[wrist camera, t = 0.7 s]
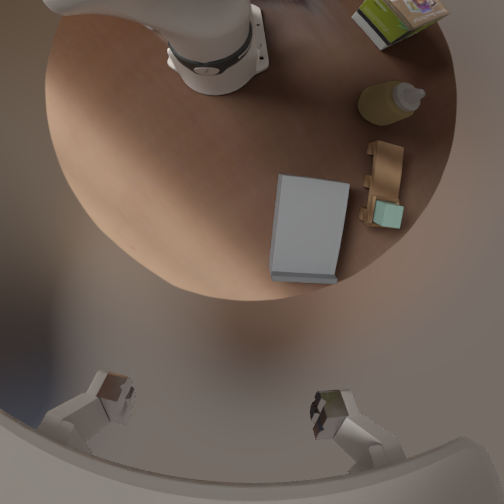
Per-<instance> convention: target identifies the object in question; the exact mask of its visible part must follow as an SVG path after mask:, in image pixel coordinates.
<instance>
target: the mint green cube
mask: <svg viewBox="0 0 504 504" xmlns="http://www.w3.org/2000/svg"><path fill="white" fill-rule="evenodd" d="M403 209H404V207H403V206H400V205H397V204H395V203H391V202H385V201H379V200H376V202H375V208H374V214H373V220H372V221H373V222H375V223H377V224H379V225H381V226H385V227H392V228H399V229H400V225H401V220H402V214H403Z"/></svg>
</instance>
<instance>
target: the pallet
mask: <svg viewBox="0 0 504 504" xmlns="http://www.w3.org/2000/svg"><path fill="white" fill-rule="evenodd" d="M367 154H368V155H372V156H374V157H373V167H372V175H371V176H370V175H365V174H364V182H363V186H364V187H367V188H370V190H369V197H368V204H367V207H360V209H359V216H358V218H359V219H360V220H362V221H364V224H366V225H368V226H373V227H381V228H389V229H395V228H392V227H385V226H381V225H379V224H377V223H375V222H373V221H372V220H373V214H374V208H375V202H376V200H379V201H385V202H391V203H395V204H397V205H399V202H400V200H399V199H398V195H399V188H400V181H401V173H402V164H403V154H404V147H401V146H397V145H394V144H390V143H386V142H383V141H379V140H375V142H369V143H368V146H367Z"/></svg>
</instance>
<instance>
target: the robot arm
mask: <svg viewBox="0 0 504 504" xmlns="http://www.w3.org/2000/svg"><path fill="white" fill-rule="evenodd" d="M43 2H44V3H45V4H46V5H47V7H49V8H50V9H51V10H53V11H54V12H56V13H57V14H60V15H65V16H70V15H80V14H102V15H111V16H116V17H121V18H125V19H128V20H132V21H135V22H138V23H141V24H144V25H146V26H149V27H151V28H154V29H156V30H157V31H159V32H161V34H162V35H163V36H164V37H165V38H166V39H167V40H168V45H169V48H168V50H167V52H168V54H169V58H168V61H167V63H168V65H169V67H170V68H171V69H173V70H175V71H176V72H178V73H179V74H180V75H181V77H182V79H183V80H184V82H185V83H186V84H187V85H188V86H189V87H190V88H192V89H193V90H195V91H197V92H199V93H202V94H207V95H223V94H227V93H231V92H233V91H235V90H237V89H239V88H241V87H242V86H244V85H245V84H246V83H247V82H248V81H249V80H250V79H251V78H252V77H253V76H254V75H255V74H257V73H260V72H262V71H264V70H266V69H267V68H268V67H269V59H268V52H267V46H266V39H265V33H264V27H263V21H262V15H261V10H260V8H259V7H257V6H255V5H253V4H250V0H43ZM260 57H263V58H264V59H263V60H261V59H260ZM131 385H132V379H131V377H128V376H124V375H119V374H116V373H112V372H108V371H104V370H99V371H98V372H97V374H96V376H95V378H94V379H93V381H92V383H91V385H90V387H89V389H88V391H87V392H86V393H82V394H80V395H78V396H77V397H75V398H73V399H71V400H69V401H67V402H65V403H63V404H61V405H60V406H58V407H56V408H54V409H52V410H50V411H48V412H47V414H46V416H45V417H44V419H43V421H42V423H41V424H40V426H39V428H38V430H35V429H33V428H31V427H29V426H27V425H26V424H24V423H22V422H20V421H18V420H17V419H15V418H14V417H12V416H10V415H9V414H7V413H5V412H4V411H3V410H1V409H0V504H504V490H503V487H502V484H501V481H500V478H499V476H498V474H497V471H496V468H495V466H494V464H493V462H492V460H491V458H490V455H489V453H488V452H487V450H486V448H485V447H484V446H483V445H481V444H479V443H478V442H476V441H474V440H472V439H470V438H467V437H465V436H462V437H458V438H456V439H454V440H451V441H449V442H448V443H445V444H443V445H440V446H438V447H436V448H433V449H431V450H428V451H426V452H423V453H420V454H418V455H415V456H412V457H409V458H406V457H405V454H404V452H403V449H402V447H401V445H400V443H399V440H398V438H396V437H394V436H393V435H392V434H390V433H389V432H387V431H386V430H384V429H383V428H382V427H380V426H379V425H377V424H376V423H375V422H373V421H371V420H370V419H369V418H367V417H366V416H365V415H363V414H361V415H360V413H359V410H358V408H357V406H356V403H355V400H354V398H353V395H352V393H351V391H350V390H349V389H342V390H328V391H317V392H316V394H315V401H313V402H312V404H311V407H310V418H311V421H312V422H313V423H314V424H315V425H314V427H313V431H314V436H315V439H316V440H318V439H330V438H333V440H334V441H335V442H336V443H337V444H338V445H339V446H340V447H341V448H342V449H343V450H344V451H345V452H346V453H347V454H348V455H350V456H351V457H352V459H354V460H355V461H356V463H355V464H354V465H353V466H352V467H351V469H350V470H349V471H348V472H349V474H345V475H339V476H333V477H327V478H320V479H313V480H303V481H291V482H276V483H234V482H217V481H206V480H197V479H189V478H182V477H176V476H169V475H164V474H159V473H154V472H150V471H145V470H141V469H137V468H133V467H129V466H126V465H122V464H119V463H115V462H112V461H109V460H106V459H102V458H100V457H97V456H94V455H91V454H92V451H91V449H90V448H89V447H88V445H87V444H86V441H87V440H89V439H90V438H91V437H92V436H94V435H95V434H96V433H98V432H99V431H100V430H101V429H102V428H104V427H105V426H106V425H108V424H109V423H110V421H111V422H115V423H119V424H123V425H127V424H128V421H129V418H130V415H131V414H130V411H129V410H130V409H132V408H133V407H134V404H135V397H136V395H135V389H134V388H133V387H132V386H131Z"/></svg>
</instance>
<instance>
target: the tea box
mask: <svg viewBox="0 0 504 504" xmlns="http://www.w3.org/2000/svg"><path fill="white" fill-rule="evenodd" d="M449 14H450V12H449V11H448V10H447V9H446V7H445V6H444V5H443V4H442V3H441V2H440V0H365V2H364V3H363V4H362V5H361V6H360V7H359V9H358V10H357V11H356V12H355V13H354V15H353V16H352V19H353V20H354V21H355V22H356V23H357V24H358V25H359V26H360V28H361V29H362V30H363V31H364V32H365V33H366V34H367V35H368V37H369V38H370V39H371V40H372V41H373V42H374V44H375V45H376V46H377V47H378V48H379V49H380V50H383V49H385V48H387V47H389V46H391V45H393V44H395V43H397V42H399V41H401V40H403V39H405V38H408V37H410V36H412V35H414V34H416V33H418V32H420V31H421V30H423V29H425V28H426V27H428V26H430V25H431V24H433V23H435V22H437V21H438V20H440V19H442V18H443V17H445V16H447V15H449Z"/></svg>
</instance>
